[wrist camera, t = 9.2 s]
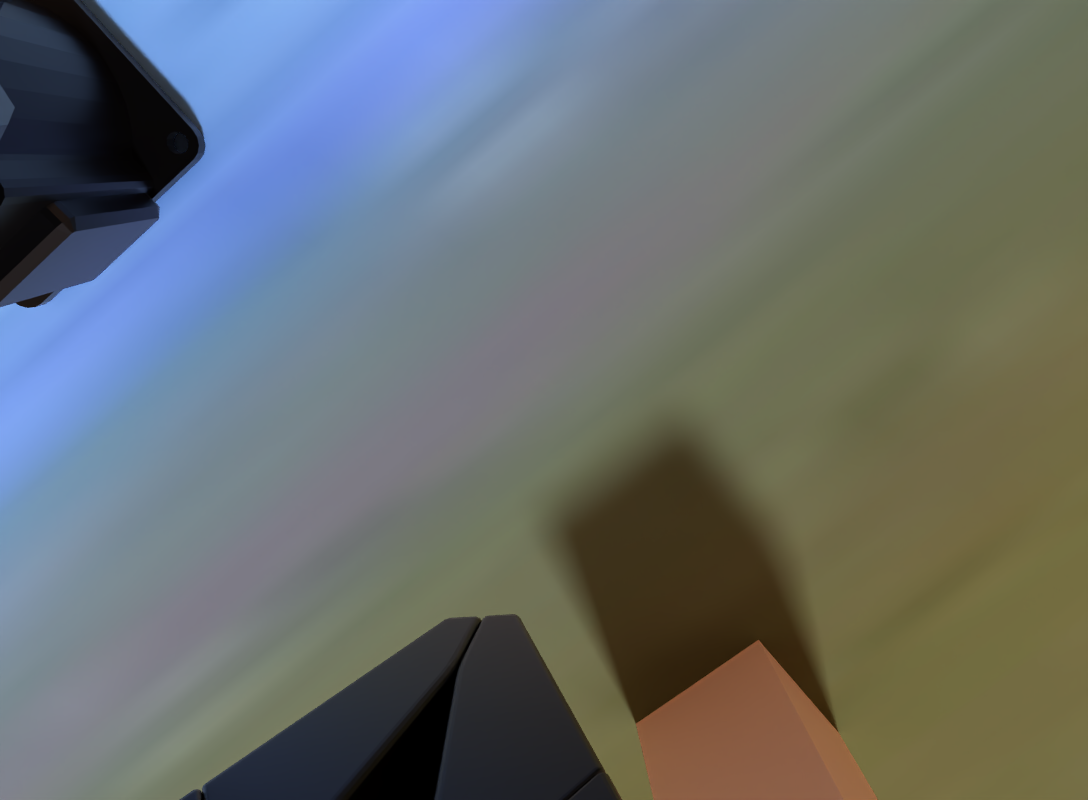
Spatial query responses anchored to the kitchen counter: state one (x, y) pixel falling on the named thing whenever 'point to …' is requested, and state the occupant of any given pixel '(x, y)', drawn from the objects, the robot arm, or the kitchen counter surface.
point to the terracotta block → (747, 740)
